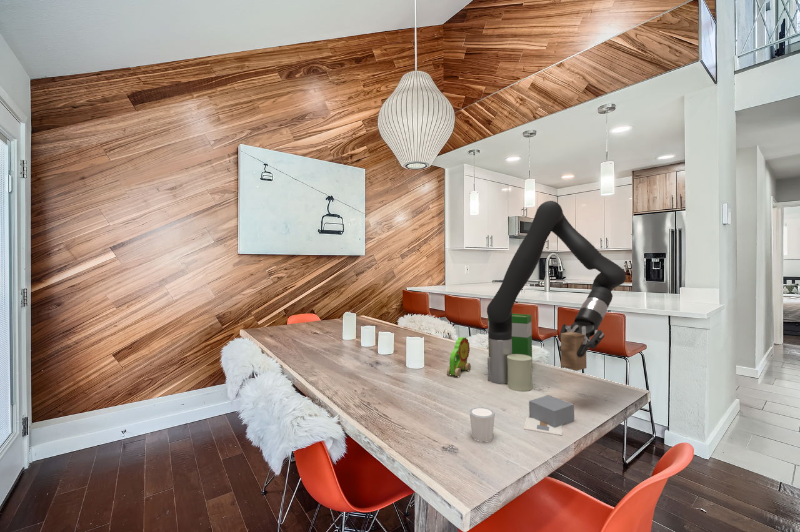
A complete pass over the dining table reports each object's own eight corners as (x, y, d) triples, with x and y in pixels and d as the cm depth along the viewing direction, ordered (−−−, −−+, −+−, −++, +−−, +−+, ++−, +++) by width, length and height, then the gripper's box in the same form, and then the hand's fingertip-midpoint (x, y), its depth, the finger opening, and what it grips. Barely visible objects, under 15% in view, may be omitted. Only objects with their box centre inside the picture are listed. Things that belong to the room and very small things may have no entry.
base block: (529, 416, 109) (529, 400, 109) (548, 410, 114) (548, 394, 114) (554, 428, 102) (554, 411, 101) (574, 420, 106) (573, 404, 106)
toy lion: (457, 378, 147) (456, 342, 146) (446, 376, 150) (445, 340, 150) (473, 368, 159) (472, 335, 159) (462, 367, 163) (461, 334, 162)
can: (514, 381, 142) (514, 351, 142) (536, 386, 135) (536, 355, 135) (502, 387, 135) (502, 356, 135) (525, 393, 129) (525, 360, 129)
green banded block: (488, 366, 163) (487, 314, 163) (494, 362, 169) (493, 312, 169) (528, 372, 153) (527, 317, 153) (532, 367, 159) (531, 314, 159)
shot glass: (466, 431, 101) (466, 407, 101) (490, 430, 101) (489, 406, 101) (473, 444, 94) (473, 417, 94) (498, 442, 95) (498, 416, 95)
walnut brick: (561, 366, 116) (560, 333, 116) (571, 364, 119) (570, 331, 119) (576, 370, 112) (576, 336, 112) (586, 368, 115) (586, 334, 114)
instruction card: (523, 429, 102) (523, 428, 102) (526, 417, 109) (526, 417, 109) (561, 435, 97) (561, 434, 97) (562, 423, 105) (562, 422, 105)
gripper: (567, 304, 125) (545, 342, 119) (608, 309, 113) (586, 351, 107) (576, 318, 128) (555, 355, 122) (617, 323, 116) (596, 366, 110)
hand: (570, 353), depth 114 cm, fingers closed on walnut brick, 5 cm apart
